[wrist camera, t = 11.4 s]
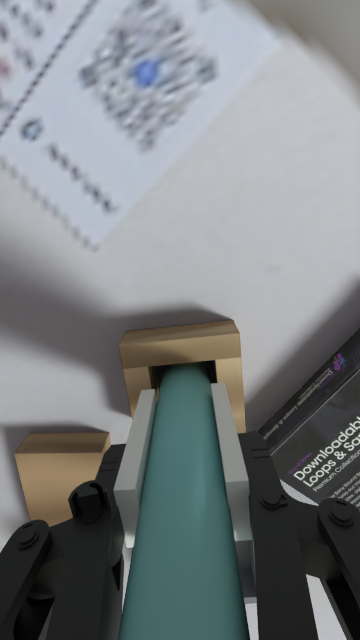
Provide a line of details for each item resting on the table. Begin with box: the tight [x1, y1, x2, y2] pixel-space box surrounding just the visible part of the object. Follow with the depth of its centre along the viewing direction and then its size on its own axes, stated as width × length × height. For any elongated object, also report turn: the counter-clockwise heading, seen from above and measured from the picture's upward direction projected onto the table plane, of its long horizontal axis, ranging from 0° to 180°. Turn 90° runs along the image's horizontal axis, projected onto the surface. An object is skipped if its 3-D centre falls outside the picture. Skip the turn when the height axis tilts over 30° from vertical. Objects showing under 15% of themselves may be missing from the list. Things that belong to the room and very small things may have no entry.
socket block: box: [118, 320, 246, 433], centre depth 19 cm, size 7×7×2 cm
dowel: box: [118, 361, 250, 640], centre depth 13 cm, size 3×3×16 cm
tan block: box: [14, 432, 111, 527], centre depth 23 cm, size 10×6×2 cm, turn 2°
